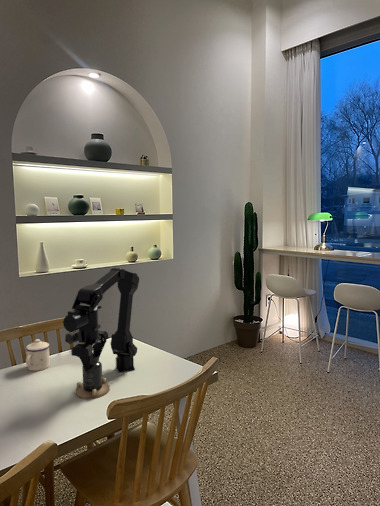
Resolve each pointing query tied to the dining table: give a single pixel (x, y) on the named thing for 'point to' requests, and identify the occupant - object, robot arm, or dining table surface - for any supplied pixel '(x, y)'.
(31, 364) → the teacup with lid
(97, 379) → the supplement bottle
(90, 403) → the dining table surface
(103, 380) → the dowel base
